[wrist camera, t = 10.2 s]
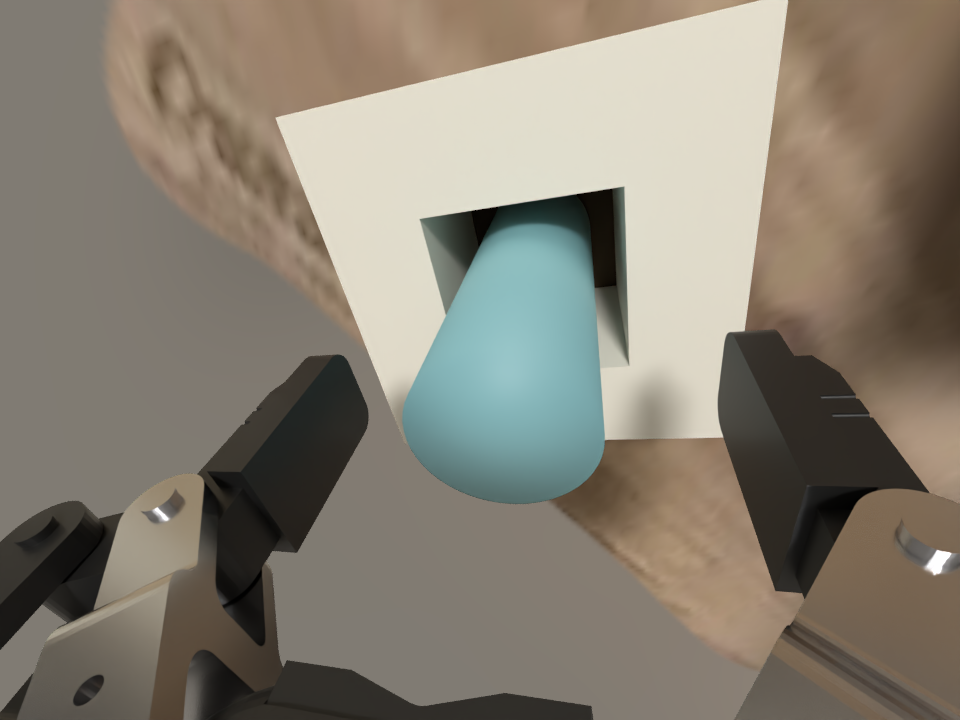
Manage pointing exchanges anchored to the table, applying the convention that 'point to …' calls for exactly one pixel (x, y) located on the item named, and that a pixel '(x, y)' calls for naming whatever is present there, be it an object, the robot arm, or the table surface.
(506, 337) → the peg
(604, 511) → the table surface
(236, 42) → the table surface
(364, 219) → the socket block
